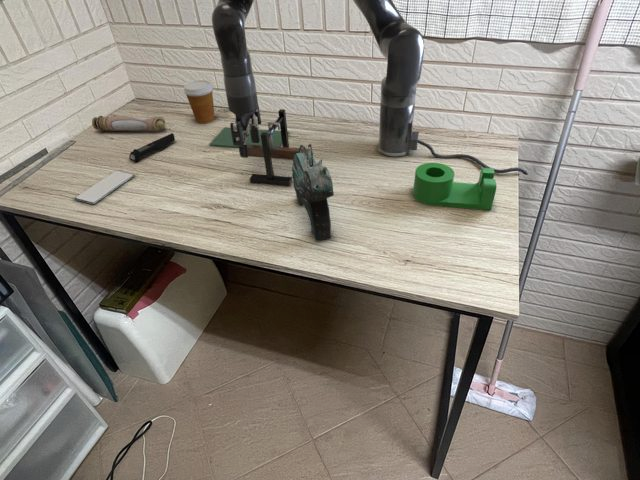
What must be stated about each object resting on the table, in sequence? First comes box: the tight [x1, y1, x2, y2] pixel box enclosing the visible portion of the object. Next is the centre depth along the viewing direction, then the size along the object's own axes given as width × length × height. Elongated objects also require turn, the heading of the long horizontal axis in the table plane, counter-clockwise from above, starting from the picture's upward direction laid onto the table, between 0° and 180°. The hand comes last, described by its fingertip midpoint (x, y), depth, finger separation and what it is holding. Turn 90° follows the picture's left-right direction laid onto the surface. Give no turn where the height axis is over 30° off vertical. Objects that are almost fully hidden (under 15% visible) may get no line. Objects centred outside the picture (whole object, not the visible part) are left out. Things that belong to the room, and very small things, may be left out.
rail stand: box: [249, 108, 293, 188], centre depth 114 cm, size 16×11×14 cm
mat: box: [208, 127, 290, 149], centre depth 133 cm, size 22×12×1 cm, turn 76°
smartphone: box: [74, 170, 135, 205], centre depth 115 cm, size 7×1×15 cm
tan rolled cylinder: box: [91, 115, 166, 132], centre depth 141 cm, size 6×25×5 cm, turn 82°
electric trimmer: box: [129, 132, 176, 164], centre depth 130 cm, size 4×16×3 cm, turn 142°
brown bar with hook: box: [247, 121, 311, 160], centre depth 113 cm, size 18×2×10 cm, turn 76°
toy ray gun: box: [291, 143, 335, 242], centre depth 93 cm, size 20×6×20 cm, turn 17°
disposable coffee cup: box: [183, 79, 216, 124], centre depth 143 cm, size 10×10×12 cm
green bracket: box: [412, 162, 497, 211], centre depth 102 cm, size 18×9×6 cm, turn 78°
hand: (250, 149), depth 116 cm, fingers open, 8 cm apart
